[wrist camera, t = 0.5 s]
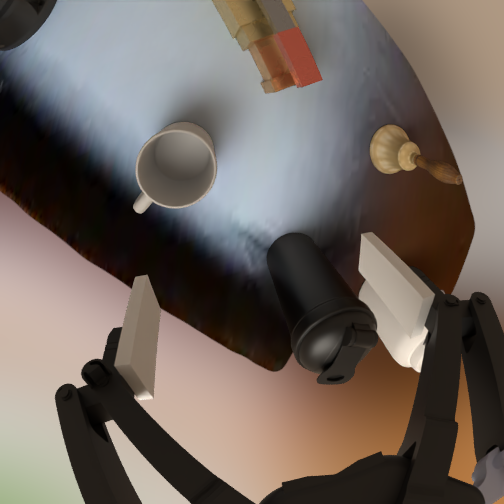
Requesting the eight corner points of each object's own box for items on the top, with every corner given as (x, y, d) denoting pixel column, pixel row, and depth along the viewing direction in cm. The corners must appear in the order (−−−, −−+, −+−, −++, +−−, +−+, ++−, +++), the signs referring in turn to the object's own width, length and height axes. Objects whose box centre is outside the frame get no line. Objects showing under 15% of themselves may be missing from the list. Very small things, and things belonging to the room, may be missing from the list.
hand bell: (416, 147, 42) (485, 175, 28) (390, 183, 44) (453, 221, 31) (389, 114, 38) (461, 130, 25) (359, 151, 41) (426, 181, 27)
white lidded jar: (377, 254, 51) (440, 324, 34) (417, 268, 55) (475, 329, 37) (346, 307, 56) (391, 384, 39) (387, 315, 60) (433, 380, 43)
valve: (199, -21, 25) (199, -41, 19) (247, -36, 25) (255, -57, 19) (261, 95, 35) (273, 93, 29) (307, 77, 35) (327, 74, 28)
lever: (236, -20, 21) (240, -32, 18) (255, -25, 21) (261, -37, 18) (292, 88, 29) (302, 86, 26) (310, 81, 29) (322, 79, 26)
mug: (181, 108, 34) (173, 110, 25) (227, 150, 38) (235, 167, 29) (124, 174, 37) (99, 199, 28) (168, 211, 41) (159, 246, 32)
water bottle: (252, 275, 49) (286, 391, 29) (275, 220, 44) (334, 323, 25) (305, 286, 52) (358, 391, 32) (330, 236, 47) (406, 331, 28)
